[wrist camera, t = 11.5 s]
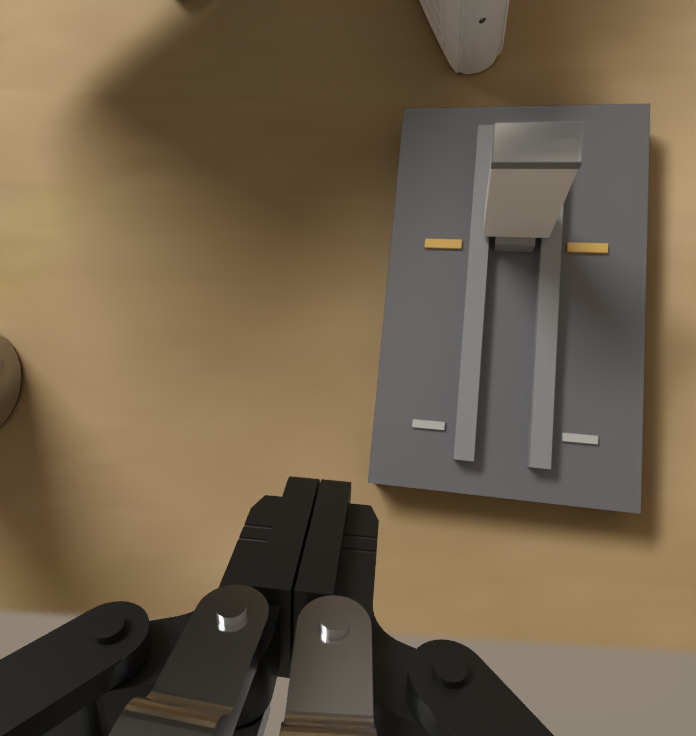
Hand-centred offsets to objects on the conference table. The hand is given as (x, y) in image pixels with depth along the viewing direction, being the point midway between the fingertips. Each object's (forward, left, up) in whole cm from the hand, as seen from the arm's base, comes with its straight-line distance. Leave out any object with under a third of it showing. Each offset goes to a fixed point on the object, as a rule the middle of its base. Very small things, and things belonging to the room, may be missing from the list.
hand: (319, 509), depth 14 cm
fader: (+6, +17, -22) cm, 28 cm away
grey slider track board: (+6, +13, -25) cm, 28 cm away
